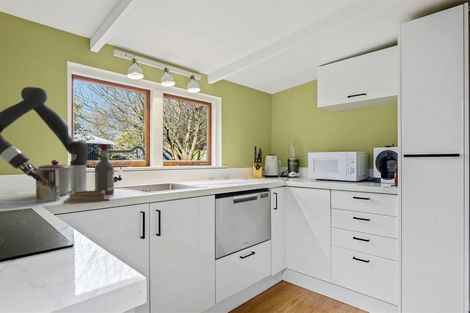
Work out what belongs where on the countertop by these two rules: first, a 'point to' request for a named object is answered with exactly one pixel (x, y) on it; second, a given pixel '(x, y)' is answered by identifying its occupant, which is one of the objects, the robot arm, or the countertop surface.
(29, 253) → the countertop surface
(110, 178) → the liquor
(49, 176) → the coffee box
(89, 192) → the walnut caddy
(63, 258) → the countertop surface
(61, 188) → the canister
